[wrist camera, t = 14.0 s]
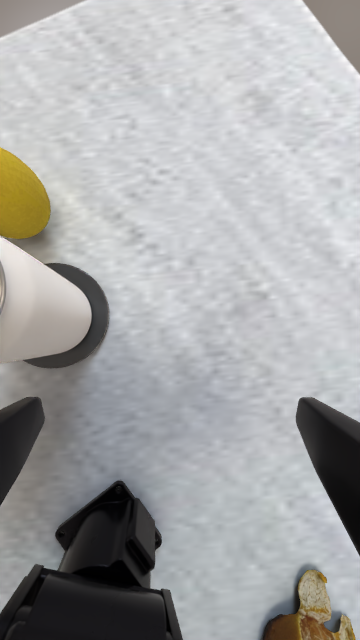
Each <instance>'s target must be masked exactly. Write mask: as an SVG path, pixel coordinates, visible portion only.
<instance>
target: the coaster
mask: <svg viewBox="0 0 360 640" xmlns="http://www.w3.org/2000/svg"><path fill="white" fill-rule="evenodd" d="M44 265H46V266H47V267H49V268H50V269H52V270H53V271H55V272H56V273H58V274H59V275H61V276H62V277H64V278H65V279H67V280H68V281H69V282H71V283H72V284H74V285H75V286H76V287H78V288H79V289H80V290H81V291H82V292H83V293H84V295H85V296H86V298H87V299H88V301H89V304H90V307H91V314H92V317H91V324H90V327H89V330H88V332H87V334H86V336H85V337H84V338H83V340H82V341H81V342H80V343H79V344H77V345H76V346H75V347H73V348H72V349H70V350H68V351H65V352H62V353H58V354H53V355H48V356H42V357H37V358H31V359H25V360H23V361H25V362H27V363H29V364H32V365H35V366H38V367H43V368H59V367H65V366H69V365H72V364H75V363H77V362H79V361H81V360H83V359H84V358H86V357H87V356H89V355H90V354H91V353H92V352H93V351H94V350H95V349H96V348H97V347H98V346H99V344H100V343H101V341H102V340H103V338H104V336H105V333H106V331H107V327H108V323H109V306H108V302H107V298H106V296H105V294H104V292H103V290H102V288H101V287H100V286H99V284H98V283H97V282H96V281H95V280H94V279H93V278H92V277H91V276H90V275H88V274H87V273H86V272H84V271H82V270H81V269H79V268H76V267H74V266H70V265H67V264H60V263H49V264H44Z"/></svg>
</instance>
